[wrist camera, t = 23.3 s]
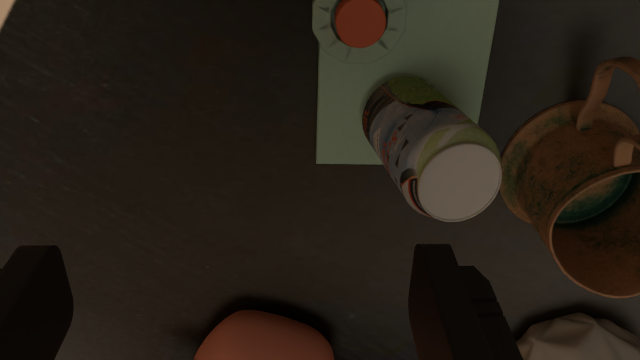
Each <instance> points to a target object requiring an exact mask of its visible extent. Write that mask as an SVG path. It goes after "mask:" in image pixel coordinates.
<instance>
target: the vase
mask: <svg viewBox="0 0 640 360" xmlns="http://www.w3.org/2000/svg"><path fill="white" fill-rule="evenodd" d="M516 344H517V346H518V348H519V351H520V353H521V355H522V357H523V360H640V339H639V338H637V337H636V336H635V335H633V334H632V333H630V332H628V331H627V330H625V329H623V328H621V327H618V326H617V325H616V324H614V323H613V322H612V321H609V320H607V319H594V318H592V317H591V316H589V315H586V314H584V313H573V314H569V315H565V316H561V317H558V318H553V319H551V320H546V321H543V322H540V323H536V324H533V325H531V326H530V327H529V328H528V330H527V331H526V332H525V333H524V334H523V336H522V337H521V338H520V339H519V340H517V341H516Z"/></svg>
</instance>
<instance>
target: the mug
mask: <svg viewBox="0 0 640 360" xmlns="http://www.w3.org/2000/svg"><path fill="white" fill-rule="evenodd" d="M615 67H618V68H620V69H622V70H624V71H625V72H627V73H628V74H629V75H631V76H632V77H633V78H634V80H635V81H636V83H637V85H638V87H639V90H640V61H639V60H637V59H635V58H631V57H620V58H615V59H610V60H605V61H603V62H601V63H600V64H599V65H598V67H597V69H596V71H595V74H594V77H593V81H592V85H591V89H590V93H589V95H588V98H587V100H576V101H569V102H565V103H561V104H558V105H555V106H552V107H550V108H548V109H545V110H543V111H542V112H540V113H538V114H536V115H535V116H533V117H532V118H531V119H529V120H528V121H527V122H526V123H524V124H523V125H522V126H521V127H520V128H519V129H518V130H517V131H516V132H515V134H514V135H513V136H512V137H511V139H510V140H509V142H508V143H507V145H506V147H505V149H504V151H503V153H502V156H501V158H500V159H501V170H502V180H501V185H500V188H499V190H500V193H501V196H502V198H503V200H504V202H505V204H506V205H507V206H508V208H509V209H510V210H511V211H512V212H513V213H514V214H515V215H516V216H517V217H519V218H520V219H522V220H524V221H525V222H527V223H530V224H532V225H533V227H534V229H535V230H536V231H537V232H538V233H539V234H540V237H541V239H542V241H543V242H544V244H545V245H546V247H547V248H548V250H549V251H550V253H551V254H552V256H553V258H554V260H555V261H556V263H557V264H558V266H559V268H560V269H561V270H562V271H563V273H564V274H565V275H566V276H567V277H568V278H569V279H571V280H572V281H573V282H574V283H576V284H577V285H579V286H581V287H582V288H584V289H586V290H588V291H591V292H593V293H595V294H599V295H602V296H605V297H611V298H628V297H633V296H636V295H639V294H640V133H639V131H638V129H637V127H636V125H635V124H634V122H633V121H632V120H631V119H630V118H629V117H628V116H627V115H626V114H625V113H623V112H622V111H620V110H619V109H617V108H615V107H614V106H611V105H609V104H606V103H603V102H602V101H603V100H604V98H605V96H606V93H607V91H608V88H609V84H610V80H611V77H612V74H613V71H614V69H615Z"/></svg>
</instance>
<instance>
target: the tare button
mask: <svg viewBox="0 0 640 360" xmlns="http://www.w3.org/2000/svg"><path fill="white" fill-rule="evenodd" d="M335 25H336V30H337V33H338V35H339V37H340V38H341V40H342V41H343V42H344V43H346V44H347V45H349V46H352V47H355V48H365V47H368V46H371V45H373V44H374V43H376V42H377V41H378V40H379V39H380V38H381V36H382V35H383V33H384V31H385V27H386V16H385V13H384V10H383V8H382V7H381V5H380V3H379V2H378V0H342V1H341V2H340V3H339V5H338V7H337V9H336V12H335Z"/></svg>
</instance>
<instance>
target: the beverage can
mask: <svg viewBox="0 0 640 360" xmlns="http://www.w3.org/2000/svg"><path fill="white" fill-rule="evenodd" d="M362 126H363V131H364V134H365V136H366V138H367V140H368V142H369V143H370V145H371V146H372V148H373V149H374V151H375V152H376V154H377V156H378V157H379V159H380V160H381V162H382V163H383V165H384V166H385V168H386V170H387V171H388V173H389V174H390V176H391V177H392V179H393V180H394V182H395V184H396V185H397V187H398V188H399V190H400V191H401V193H402V194H403V196H404V198H405V199H406V201H407V202H408V203H409V204H410V205H411V207H412V208H413V209H415V210H416V211H418V212H419V213H421V214H423V215H425V216H427V217H431V218H435V219H438V220H441V221H445V222H457V221H463V220H466V219H469V218H471V217H474V216H475V215H477V214H479V213H480V212H482V211H483V210H484V209H485V208H486V207H487V206H488V205H489V204H490V203H491V202H492V201H493V199H494V198H495V196H496V195H497V193H498V191H499V188H500V185H501V180H502V170H501V159H500V154H499V150H498V148H497V146H496V144H495V142H494V141H493V139H492V138H491V137H490V136H489V135H488V134H487V133H486V132H485V131H484V130H482V129H481V128H480V127H479V126H478V125H477V124H476V123H474V122H473V121H472V120H471V119H470V118H469V117H468V116H467V115H465V114H464V113H463V112H462V111H461V110H460V109H459V108H457V107H456V106H455V105H454V104H453V103H452V102H451V101H449V100H448V99H447V98H446V97H445V96H444V95H443V94H441V93H440V92H439V91H438V90H437V89H436V88H435V87H434V86H432V85H431V84H430V83H429V82H427V81H425V80H424V79H421V78H418V77H412V76H403V77H398V78H394V79H392V80H389V81H387V82H385V83H384V84H382V85H381V86H380V87H378V88H377V89H376V90H375V91H374V92H373V94H372V95H371V96H370V98H369V99H368V101H367V103H366V105H365V107H364V111H363V115H362Z"/></svg>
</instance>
